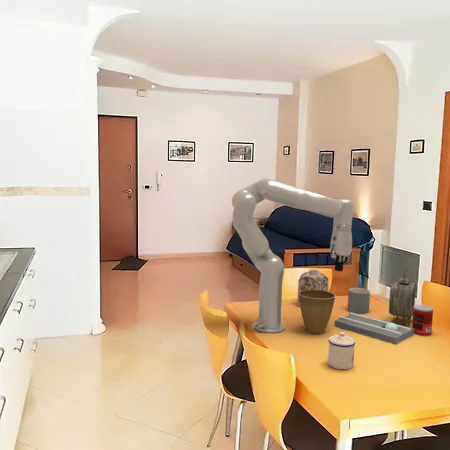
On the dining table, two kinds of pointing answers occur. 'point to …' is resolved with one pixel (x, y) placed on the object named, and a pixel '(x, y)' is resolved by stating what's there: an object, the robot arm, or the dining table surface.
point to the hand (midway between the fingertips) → (338, 270)
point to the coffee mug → (358, 300)
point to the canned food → (422, 319)
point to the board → (373, 328)
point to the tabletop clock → (402, 298)
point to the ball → (391, 327)
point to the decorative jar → (312, 282)
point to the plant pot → (316, 309)
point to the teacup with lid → (341, 351)
